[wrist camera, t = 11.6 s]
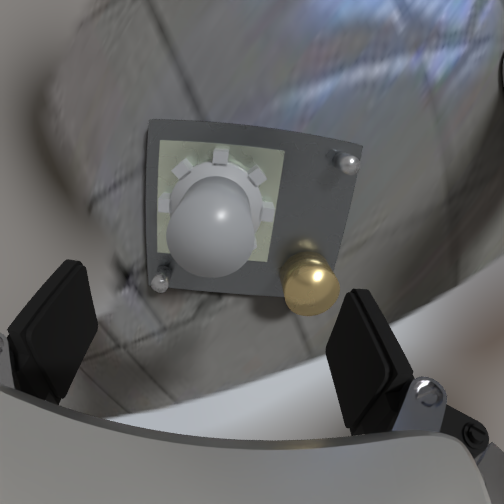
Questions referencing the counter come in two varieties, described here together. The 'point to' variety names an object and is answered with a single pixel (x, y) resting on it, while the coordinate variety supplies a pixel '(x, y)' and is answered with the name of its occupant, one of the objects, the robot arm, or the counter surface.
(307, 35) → the counter surface
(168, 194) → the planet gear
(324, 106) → the counter surface
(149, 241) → the carrier plate
